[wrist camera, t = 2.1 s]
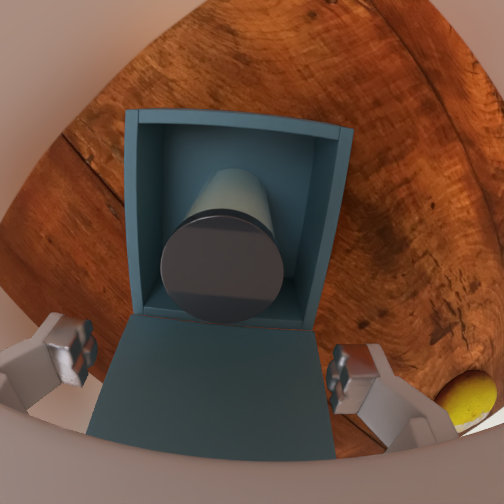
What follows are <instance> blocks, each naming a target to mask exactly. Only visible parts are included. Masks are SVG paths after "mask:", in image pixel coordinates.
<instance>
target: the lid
mask: <svg viewBox="0 0 504 504" xmlns="http://www.w3.org/2000/svg"><path fill="white" fill-rule="evenodd" d="M86 435H89V436H93V437H97V438H100V439H104V440H108V441H112V442H116V443H121V444H125V445H129V446H134V447H139V448H144V449H149V450H155V451H160V452H166V453H173V454H179V455H187V456H195V457H203V458H214V459H225V460H241V461H316V460H332V459H336V454H335V447H334V441H333V434H332V428H331V422H330V416H329V410H328V404H327V398H326V392H325V386H324V381H323V375H322V370H321V364H320V359H319V354H318V348H317V343H316V338H315V333H314V331H300V330H281V329H266V328H252V327H239V326H228V325H217V324H207V323H197V322H188V321H179V320H171V319H162V318H155V317H147V316H140V315H133V314H131V316H130V318H129V320H128V323H127V325H126V328H125V330H124V332H123V335H122V337H121V340H120V342H119V345H118V347H117V350H116V352H115V355H114V357H113V360H112V362H111V365H110V367H109V370H108V372H107V375H106V378H105V380H104V383H103V386H102V389H101V392H100V394H99V397H98V400H97V403H96V405H95V408H94V411H93V414H92V417H91V420H90V423H89V426H88V429H87V432H86Z"/></svg>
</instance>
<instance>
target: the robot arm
mask: <svg viewBox="0 0 504 504" xmlns="http://www.w3.org/2000/svg"><path fill="white" fill-rule="evenodd" d="M92 331H93V326H92V322H91V321H90V320H88V319H84V318H79V317H75V316H70V315H66V314H65V315H64V314H60V313H56V312H53V313H50V315H49V316H48V317H47V318H46V320H45V321H44V322H43V324H42V325H41V326H40V327H39V329H38V330H37V331H36V333H35V334H34V335H33V337H32V338H31V339H25V340H23V341H21V342H19V343H17V344H15V345H13V346H11V347H9V348H6V349H4V350H2V351H0V504H504V423H502V424H500V425H497V426H494V427H491V428H488V429H485V430H482V431H479V432H476V433H473V434H469V435H466V436H462V437H459V435H458V433H457V431H456V429H455V427H454V425H453V422H452V420H451V418H450V416H449V414H448V412H447V411H446V410H445V409H443V408H442V407H441V406H439V405H438V404H436V403H435V402H434V401H432V400H431V399H429V398H428V397H427V396H425V395H424V394H423V393H421V392H420V391H418V390H417V389H416V388H414V387H413V386H411V385H410V384H409V383H407V382H406V381H405V380H403V379H402V378H400V377H399V376H394V373H393V371H392V369H391V367H390V365H389V362H388V360H387V358H386V356H385V354H384V352H383V350H382V347H381V345H379V344H337V345H336V346H335V348H334V350H333V356H334V359H333V360H332V361H331V362H329V365H328V368H327V374H326V383H327V388H328V390H330V391H331V392H332V395H331V398H330V401H331V405H332V409H333V414H356V413H358V414H357V415H358V416H359V417H360V418H361V419H362V420H363V422H364V423H365V424H366V425H367V426H368V427H369V428H370V429H371V430H372V431H373V432H374V433H375V434H376V435H377V436H378V438H379V439H380V440H381V441H382V442H383V443H384V444H385V445H386V446H387V447H388V449H387V450H386V452H385V453H384V454H378V455H371V456H363V457H354V458H344V459H332V460H316V461H241V460H225V459H214V458H203V457H195V456H187V455H179V454H173V453H166V452H160V451H155V450H149V449H144V448H139V447H134V446H129V445H125V444H121V443H116V442H112V441H108V440H104V439H100V438H97V437H93V436H89V435H86V434H82V433H79V432H76V431H73V430H69V429H66V428H63V427H60V426H57V425H54V424H51V423H48V422H46V421H43V420H40V419H38V418H35V417H33V416H30V415H29V414H28V412H27V411H26V410H27V409H29V408H30V407H31V406H33V405H34V404H35V403H36V402H38V401H39V400H40V399H42V398H43V397H44V396H46V395H47V394H48V393H50V392H51V391H52V390H54V389H55V388H57V387H58V386H59V385H61V383H65V384H69V385H73V386H77V387H82V386H83V385H84V383H85V380H86V379H87V376H88V370H87V368H89V367H91V366H92V365H93V364H94V362H95V360H96V356H97V342H96V339H95V338H94V337H93V336H92V334H91V333H92Z"/></svg>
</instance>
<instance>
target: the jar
mask: <svg viewBox="0 0 504 504" xmlns="http://www.w3.org/2000/svg"><path fill="white" fill-rule="evenodd" d="M160 270H161V277H162V281H163V284H164V287H165V289H166V291H167V293H168V294H169V296H170V297H171V299H172V300H173V301H174V302H175V303H176V304H177V305H178V306H179V307H180V308H181V309H182V310H184V311H185V312H187V313H188V314H190V315H192V316H194V317H196V318H198V319H201V320H203V321H207V322H211V323H219V324H231V323H238V322H242V321H246V320H248V319H251V318H253V317H255V316H257V315H259V314H260V313H262V312H263V311H264V310H265V309H267V308H268V307H269V306H270V305H271V303H272V302H273V301H274V300H275V298H276V297H277V295H278V293H279V291H280V289H281V286H282V282H283V275H284V268H283V262H282V256H281V251H280V248H279V245H278V243H277V241H276V239H275V235H274V229H273V224H272V218H271V212H270V206H269V201H268V195H267V192H266V189H265V187H264V185H263V184H262V182H261V181H260V180H259V179H258V178H257V177H256V176H255V175H253V174H252V173H250V172H248V171H246V170H243V169H237V168H230V169H224V170H221V171H219V172H217V173H215V174H213V175H212V176H211V177H210V178H208V180H207V181H206V182H205V183H204V185H203V187H202V188H201V190H200V192H199V193H198V195H197V197H196V199H195V200H194V202H193V204H192V206H191V207H190V209H189V211H188V213H187V214H186V216H185V218H184V220H183V221H182V223H181V224H180V225H178V226H177V228H176V229H175V230H174V231H173V233H172V235H171V236H170V238H169V240H168V242H167V243H166V245H165V247H164V250H163V252H162V257H161V264H160Z"/></svg>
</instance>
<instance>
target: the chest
mask: <svg viewBox="0 0 504 504" xmlns="http://www.w3.org/2000/svg"><path fill="white" fill-rule="evenodd" d="M353 133H354V129H352V128H348V127H343V126H339V125H335V124H331V123H326V122H320V121H314V120H308V119H301V118H294V117H286V116H278V115H270V114H261V113H251V112H240V111H227V110H211V109H189V108H146V109H130V110H126V115H125V143H124V193H125V221H126V239H127V253H128V265H129V276H130V286H131V295H132V304H133V312H134V314H137V315H146V316H153V317H161V318H169V319H177V320H186V321H195V322H205V323H211V322H207V321H203V320H201V319H198V318H196V317H194V316H192V315H190V314H188V313H187V312H185V311H184V310H182V309H181V308H180V307H179V306H178V305H177V304H176V303H175V302H174V301H173V300H172V299H171V297H170V296H169V294H168V293H167V291H166V289H165V287H164V284H163V281H162V277H161V270H160V264H161V257H162V252H163V250H164V247H165V245H166V243H167V242H168V240H169V238H170V236H171V235H172V233H173V231H174V230H175V229H176V228H177V226H178V225H180V224H181V223H182V221H183V220H184V218H185V216H186V214H187V213H188V211H189V209H190V207H191V206H192V204H193V202H194V200H195V199H196V197H197V195H198V193H199V192H200V190H201V188H202V187H203V185H204V183H205V182H206V181H207V180H208V178H210V177H211V176H212V175H213V174H215V173H217V172H219V171H221V170H224V169H230V168H237V169H243V170H246V171H248V172H250V173H252V174H253V175H255V176H256V177H257V178H258V179H259V180H260V181H261V182H262V184H263V185H264V187H265V189H266V192H267V195H268V201H269V206H270V212H271V218H272V224H273V229H274V235H275V239H276V241H277V243H278V245H279V248H280V251H281V256H282V262H283V268H284V275H283V282H282V286H281V289H280V291H279V293H278V295H277V297H276V298H275V300H274V301H273V302H272V303H271V305H270V306H269V307H268V308H267V309H265V310H264V311H263V312H262V313H260V314H259V315H257V316H255V317H253V318H251V319H248V320H246V321H242V322H238V323H231V324H226V325H237V326H250V327H263V328H278V329H296V330H312V328H313V325H314V321H315V317H316V313H317V309H318V305H319V301H320V297H321V293H322V289H323V285H324V281H325V277H326V273H327V268H328V264H329V260H330V255H331V251H332V246H333V242H334V237H335V232H336V228H337V223H338V218H339V213H340V208H341V203H342V198H343V192H344V187H345V181H346V176H347V170H348V164H349V158H350V152H351V146H352V140H353ZM215 324H219V323H215Z"/></svg>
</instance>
